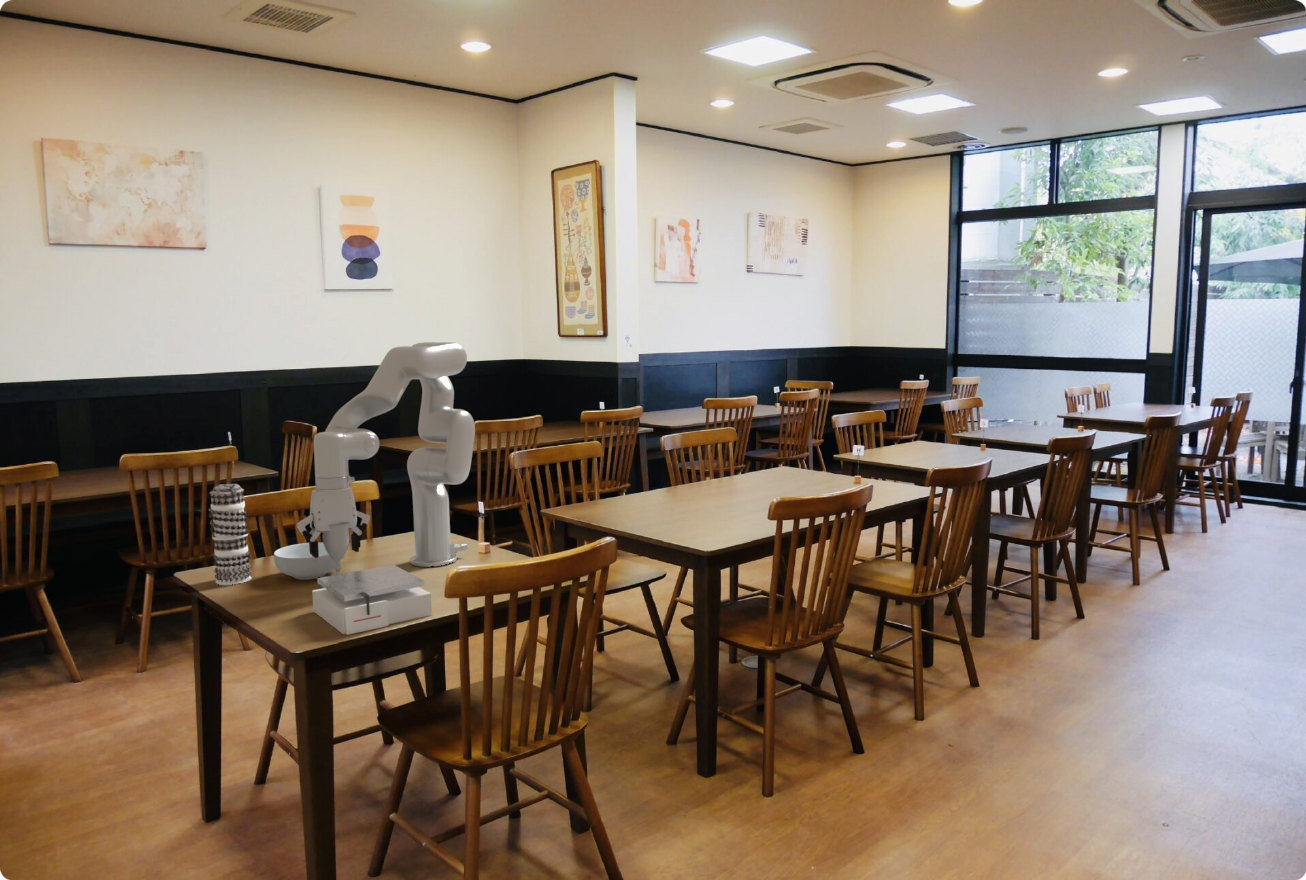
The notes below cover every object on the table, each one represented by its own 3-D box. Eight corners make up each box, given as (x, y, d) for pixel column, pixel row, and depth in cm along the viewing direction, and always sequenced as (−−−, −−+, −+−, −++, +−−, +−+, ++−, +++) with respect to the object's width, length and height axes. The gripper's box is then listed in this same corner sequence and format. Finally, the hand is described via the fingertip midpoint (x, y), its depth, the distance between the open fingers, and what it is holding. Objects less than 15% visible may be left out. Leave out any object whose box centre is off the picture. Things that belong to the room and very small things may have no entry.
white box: (394, 588, 222) (393, 564, 222) (430, 609, 206) (429, 583, 205) (318, 603, 212) (317, 578, 211) (350, 626, 195) (348, 599, 194)
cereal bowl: (298, 588, 231) (296, 560, 230) (262, 578, 241) (260, 551, 240) (357, 573, 244) (355, 547, 244) (320, 564, 254) (318, 538, 254)
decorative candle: (207, 581, 238) (199, 485, 235) (243, 573, 245) (236, 480, 242) (223, 587, 232) (215, 489, 229) (259, 579, 239) (252, 484, 236)
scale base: (397, 594, 224) (396, 572, 223) (433, 616, 207) (432, 591, 207) (313, 611, 212) (312, 587, 211) (345, 635, 195) (343, 609, 195)
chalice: (361, 592, 226) (356, 520, 224) (343, 600, 220) (338, 526, 218) (336, 590, 229) (331, 518, 227) (317, 597, 223) (313, 524, 220)
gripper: (362, 478, 229) (365, 546, 231) (290, 485, 219) (293, 556, 221) (373, 481, 223) (376, 551, 225) (300, 489, 213) (303, 562, 215)
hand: (335, 553), depth 223 cm, fingers open, 9 cm apart
